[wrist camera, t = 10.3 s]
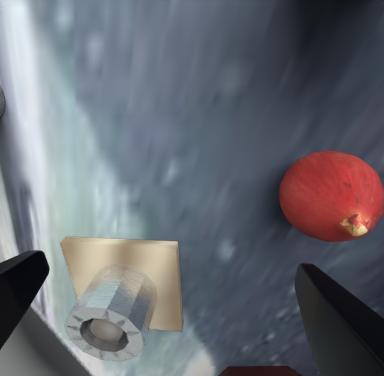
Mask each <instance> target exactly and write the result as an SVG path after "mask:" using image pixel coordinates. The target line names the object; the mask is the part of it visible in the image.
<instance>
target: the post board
mask: <svg viewBox="0 0 384 376" xmlns="http://www.w3.org/2000/svg"><path fill="white" fill-rule="evenodd" d="M60 245H61V248H62V251H63V254H64V257H65V260H66V263H67V267H68V270H69V273H70V276H71V279H72V282H73V285H74V289H75V292H76V295H77V298H78V300H79V299H80V297H81V296H82V294H83V293H84V291H85V290H86V288H87V287H88V285H89V284H90V282H91V281H92V280H93V278H94V277H95V275H96V274H97V272H98V271H99V270H101V269H103V268H105V267H107V266H109V265H111V264H117V265H130V266H132V267H134V268H136V269H138V270H140V271H142V272H144V273H146V274H147V275H148V276H149V278H150V279H151V280H152V281H153V282H154V284H155V285H156V289H157V297H158V299H157V303H156V306H155V309H154V313H153V316H152V319H151V323H150V326H149V329H157V330H169V331H180V332H182V329H183V311H182V295H181V280H180V265H179V250H178V242H177V241H154V240H130V239H107V238H84V237H65V238H64V239H63V240H62V241H61V242H60ZM90 330H91V332H92V333H93V334H94V335H95V336H96V337H97V338H99V339H101V340H104V341H109V342H113V341H117V340H119V339H120V338H121V337H122V334H123V332H124V330H123V329H122V328H121V327H120V326H119V325H117V324H115V323H113V322H110V321H108V320H106V319H96V318H94V319H93V321H92V323H91V325H90Z"/></svg>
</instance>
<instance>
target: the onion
mask: <svg viewBox="0 0 384 376" xmlns="http://www.w3.org/2000/svg"><path fill="white" fill-rule="evenodd" d="M279 202H280V206H281V208H282V210H283V213H284V215H285V217H286V219H287V220H288V221H289V222H290V223H291V224H292V225H293V226H295V227H296V228H297V229H299V230H300V231H301V232H303V233H304V234H305V235H307V236H310V237H313V238H316V239H320V240H323V241H327V242H343V241H349V240H353V239H357V238H361V237H363V236H364V235H365V234H367V233H368V232H370V231H371V230H372V229H374V228H375V226H376V225H377V223H378V222H379V220H380V218H381V217H382V215H383V213H384V188H383V186H382V183H381V181H380V178H379V176H378V174H377V173H376V172H375V170H374V169H373V168H371V167H370V166H369V165H368V164H366V163H365V162H364V161H362V160H361V159H360V158H358V157H356V156H354V155H350V154H345V153H341V152H337V151H322V152H314V153H312V154H310V155H307V156H305V157H303V158H301V159H299V160H297V161H296V162H295V163H294V164H293V165H292V166H291V167H290V168H289V169H288V170H287V171H286V173H285V175H284V177H283V179H282V182H281V184H280V189H279Z"/></svg>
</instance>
